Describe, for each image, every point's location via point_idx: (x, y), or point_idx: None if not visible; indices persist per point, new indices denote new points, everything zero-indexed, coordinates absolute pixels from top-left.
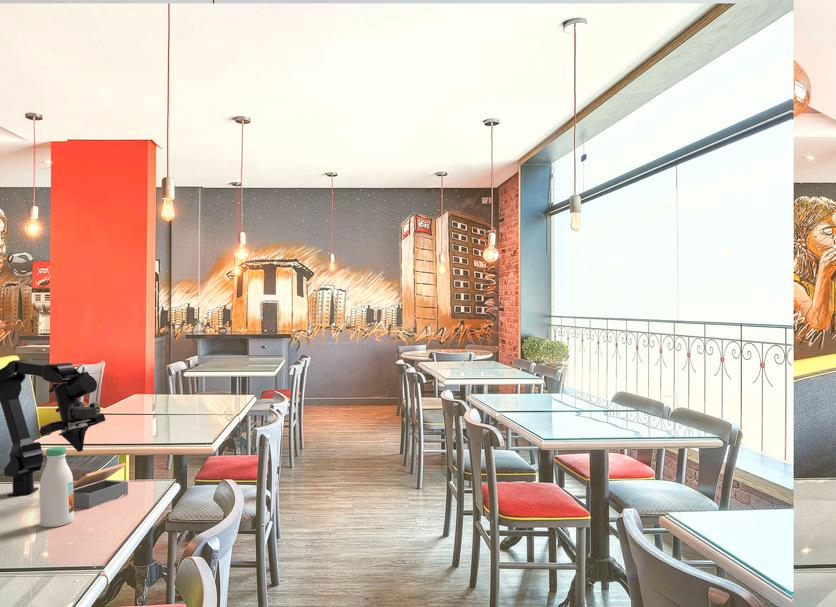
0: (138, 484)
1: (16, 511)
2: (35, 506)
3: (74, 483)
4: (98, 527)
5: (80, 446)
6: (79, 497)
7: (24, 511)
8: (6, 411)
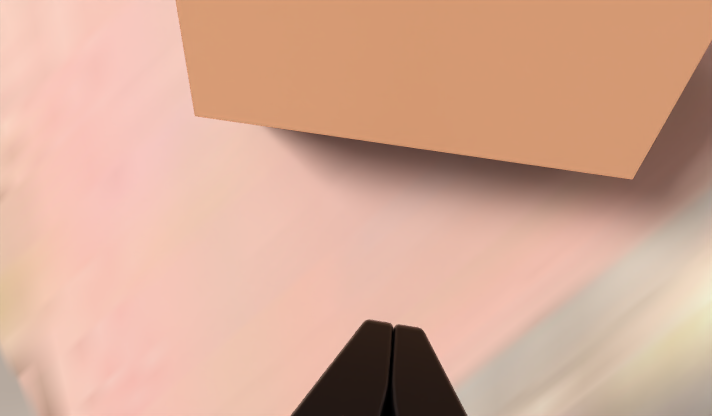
0: (12, 8)
1: (700, 412)
2: (590, 371)
3: (697, 55)
4: None
5: (413, 383)
6: None
7: (701, 361)
8: None
